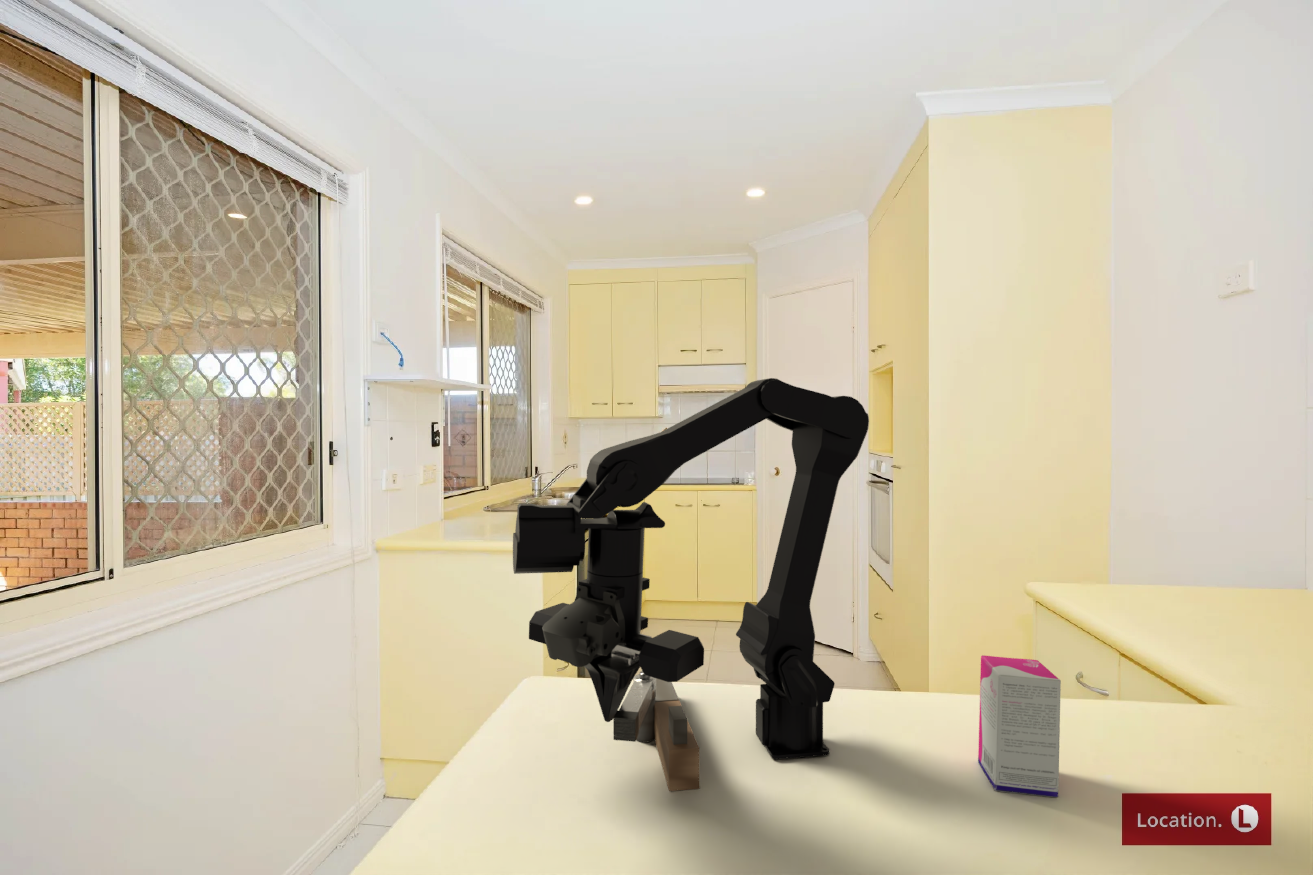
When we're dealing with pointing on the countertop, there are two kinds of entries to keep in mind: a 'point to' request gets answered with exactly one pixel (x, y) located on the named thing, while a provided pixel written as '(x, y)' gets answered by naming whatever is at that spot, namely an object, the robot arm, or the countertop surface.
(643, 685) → the bar
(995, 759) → the supplement box
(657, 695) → the wooden block clamp
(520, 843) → the countertop surface
